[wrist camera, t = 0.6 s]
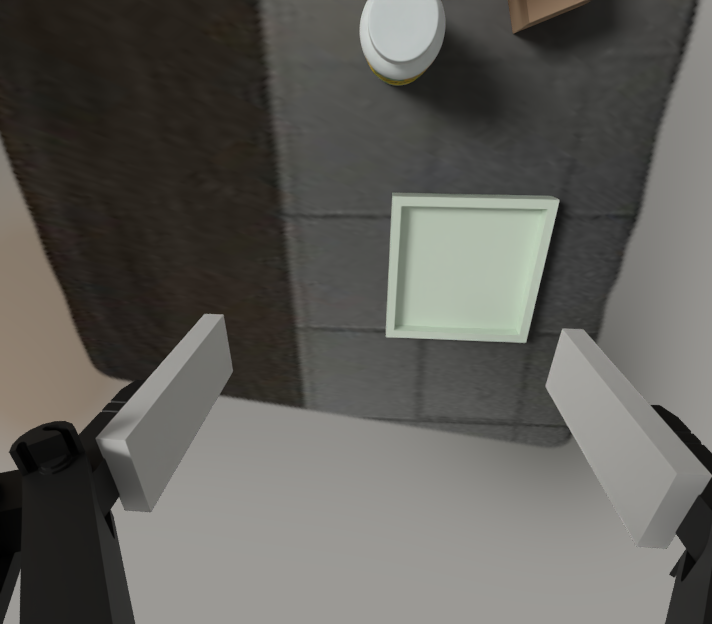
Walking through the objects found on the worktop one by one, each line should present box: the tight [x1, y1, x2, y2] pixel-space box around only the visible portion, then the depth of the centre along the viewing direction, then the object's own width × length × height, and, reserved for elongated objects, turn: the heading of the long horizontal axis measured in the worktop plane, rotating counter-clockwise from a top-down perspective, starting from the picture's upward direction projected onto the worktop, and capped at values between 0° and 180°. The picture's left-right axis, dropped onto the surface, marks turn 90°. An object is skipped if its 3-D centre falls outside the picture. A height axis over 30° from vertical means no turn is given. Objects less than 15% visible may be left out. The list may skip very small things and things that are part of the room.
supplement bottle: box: [360, 0, 445, 86], centre depth 26 cm, size 5×5×10 cm
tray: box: [386, 193, 560, 343], centre depth 37 cm, size 14×14×2 cm
